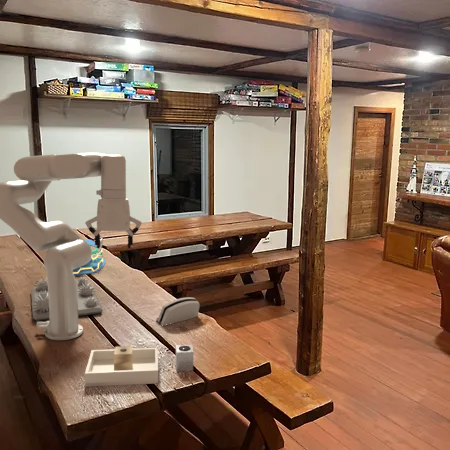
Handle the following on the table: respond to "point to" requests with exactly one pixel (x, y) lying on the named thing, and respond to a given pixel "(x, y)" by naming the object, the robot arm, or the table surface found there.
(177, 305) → the grey rounded slab
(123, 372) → the sorting tray
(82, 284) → the decorative tray
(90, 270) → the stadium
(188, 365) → the grey block
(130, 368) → the maple block
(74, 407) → the table surface
